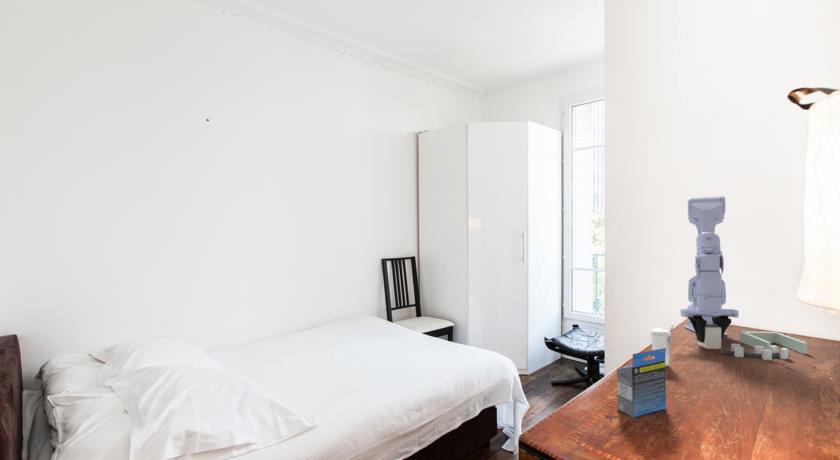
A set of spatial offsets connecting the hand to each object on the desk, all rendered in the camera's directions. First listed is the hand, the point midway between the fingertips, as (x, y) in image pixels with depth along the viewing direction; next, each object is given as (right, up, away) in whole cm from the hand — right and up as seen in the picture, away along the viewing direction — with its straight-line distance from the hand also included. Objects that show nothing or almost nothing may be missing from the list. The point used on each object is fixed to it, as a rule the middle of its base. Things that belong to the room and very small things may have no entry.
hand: (709, 341), depth 113 cm
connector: (0, -1, 0) cm, 1 cm away
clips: (+7, -2, -8) cm, 11 cm away
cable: (+7, -2, -8) cm, 11 cm away
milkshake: (-21, -2, -13) cm, 25 cm away
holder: (+16, -1, -2) cm, 17 cm away
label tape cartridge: (-40, -3, -36) cm, 54 cm away
